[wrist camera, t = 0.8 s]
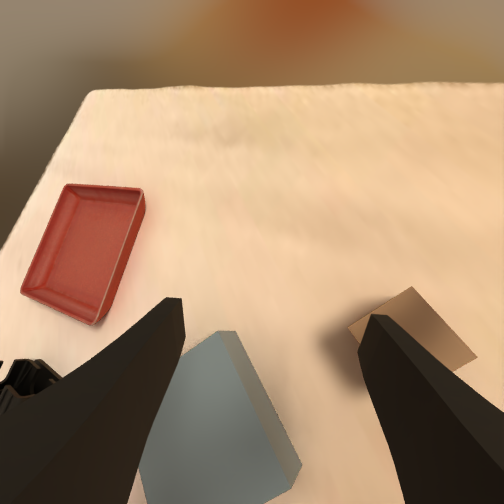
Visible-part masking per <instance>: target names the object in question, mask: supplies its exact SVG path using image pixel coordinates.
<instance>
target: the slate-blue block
mask: <svg viewBox="0 0 504 504" xmlns="http://www.w3.org/2000/svg"><path fill="white" fill-rule="evenodd" d="M301 466H302V463H301V461H300V459H299V457H298V455H297V453H296V451H295V449H294V447H293V445H292V443H291V441H290V439H289V437H288V435H287V433H286V431H285V429H284V427H283V425H282V423H281V421H280V419H279V417H278V415H277V413H276V411H275V409H274V407H273V405H272V403H271V401H270V399H269V397H268V395H267V393H266V391H265V389H264V387H263V385H262V383H261V381H260V379H259V377H258V375H257V373H256V371H255V369H254V367H253V365H252V363H251V361H250V359H249V357H248V355H247V353H246V351H245V349H244V347H243V345H242V343H241V341H240V339H239V337H238V335H237V333H236V331H217V332H215V333H214V334H213V335H211V336H210V337H208V338H207V339H206V340H204V341H203V342H201V343H200V344H198V345H197V346H196V347H194V348H193V349H191V350H190V351H188V352H187V353H186V354H184V355H183V356H181V357H180V359H179V362H178V365H177V367H176V370H175V372H174V374H173V377H172V379H171V382H170V384H169V386H168V389H167V391H166V394H165V396H164V398H163V401H162V403H161V406H160V408H159V410H158V413H157V415H156V418H155V420H154V422H153V425H152V428H151V430H150V433H149V436H148V438H147V441H146V445H145V448H144V451H143V454H142V457H141V460H140V463H139V466H138V467H139V471H140V475H141V480H142V484H143V488H144V492H145V496H146V500H147V504H264V503H266V502H268V501H269V500H271V499H273V498H275V497H277V496H279V495H280V494H282V493H284V492H286V491H288V490H289V489H291V488H292V486H293V484H294V482H295V479H296V477H297V475H298V473H299V471H300V469H301Z"/></svg>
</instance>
